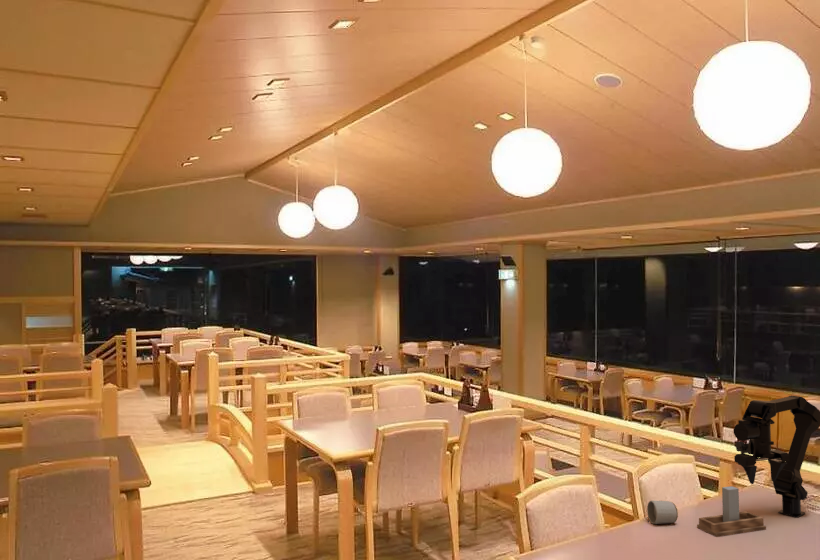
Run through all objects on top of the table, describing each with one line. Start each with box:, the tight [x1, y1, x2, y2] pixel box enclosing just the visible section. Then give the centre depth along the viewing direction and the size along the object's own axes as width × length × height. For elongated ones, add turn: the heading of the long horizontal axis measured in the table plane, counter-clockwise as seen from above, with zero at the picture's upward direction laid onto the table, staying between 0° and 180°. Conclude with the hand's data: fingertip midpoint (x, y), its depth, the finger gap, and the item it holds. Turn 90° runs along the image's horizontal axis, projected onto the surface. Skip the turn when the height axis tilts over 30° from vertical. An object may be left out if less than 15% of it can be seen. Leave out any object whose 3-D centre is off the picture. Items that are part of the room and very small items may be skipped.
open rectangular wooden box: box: [696, 510, 767, 538], centre depth 219 cm, size 20×9×4 cm, turn 106°
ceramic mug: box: [646, 499, 679, 525], centre depth 227 cm, size 11×8×8 cm
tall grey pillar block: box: [721, 486, 740, 522], centre depth 219 cm, size 4×3×12 cm
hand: (762, 482), depth 226 cm, fingers open, 9 cm apart
